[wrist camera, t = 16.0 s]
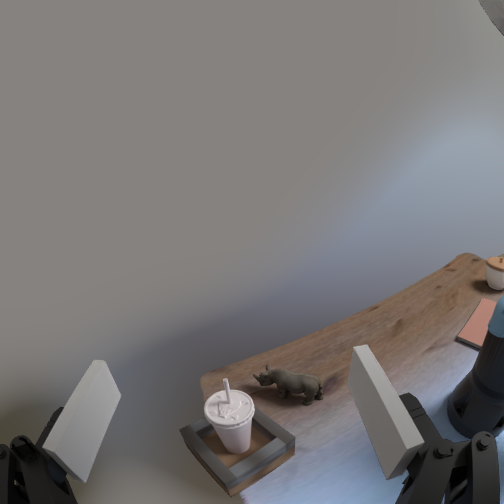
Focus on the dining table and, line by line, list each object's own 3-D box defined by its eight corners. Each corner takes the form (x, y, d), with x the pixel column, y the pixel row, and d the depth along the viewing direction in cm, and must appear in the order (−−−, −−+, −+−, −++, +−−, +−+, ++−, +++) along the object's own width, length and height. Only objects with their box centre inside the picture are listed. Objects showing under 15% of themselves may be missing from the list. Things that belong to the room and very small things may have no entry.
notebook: (507, 364, 38) (510, 357, 37) (455, 341, 52) (457, 335, 51) (522, 317, 51) (523, 311, 50) (481, 302, 65) (483, 296, 64)
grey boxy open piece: (245, 415, 43) (242, 396, 41) (294, 454, 34) (295, 437, 32) (187, 447, 36) (179, 429, 34) (231, 497, 27) (225, 483, 25)
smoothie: (264, 433, 36) (258, 370, 32) (251, 465, 30) (239, 407, 26) (225, 424, 38) (210, 361, 34) (209, 454, 32) (186, 394, 28)
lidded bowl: (507, 296, 62) (514, 266, 59) (479, 287, 73) (485, 258, 69) (510, 284, 69) (516, 256, 66) (485, 276, 79) (489, 249, 76)
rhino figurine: (259, 378, 53) (257, 356, 51) (325, 394, 46) (327, 371, 44) (250, 390, 49) (247, 368, 47) (318, 409, 43) (320, 387, 41)
